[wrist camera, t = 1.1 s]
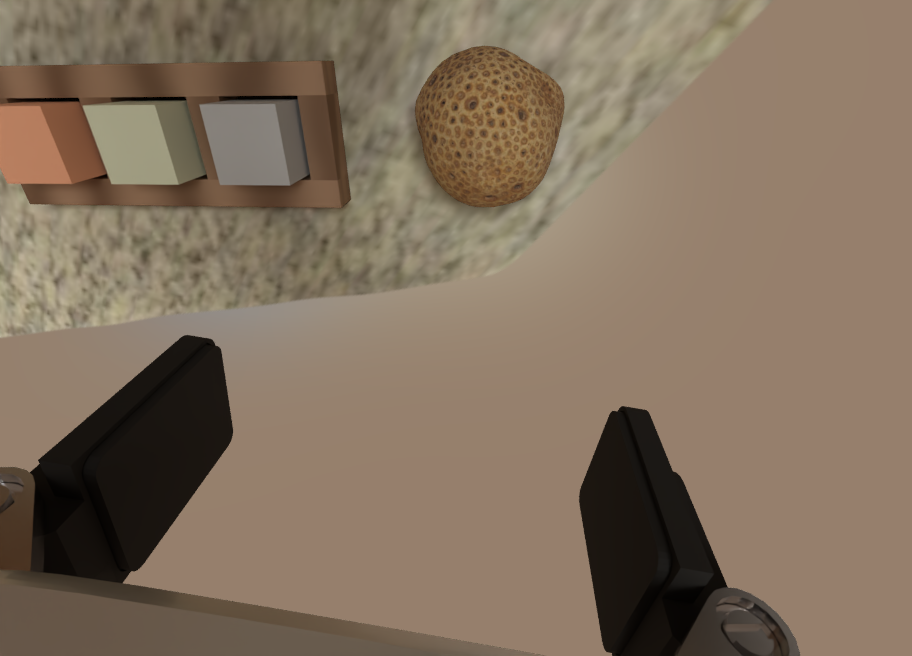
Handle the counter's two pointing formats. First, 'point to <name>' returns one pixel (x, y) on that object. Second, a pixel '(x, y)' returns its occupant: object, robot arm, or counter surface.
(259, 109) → the slate button
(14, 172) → the terracotta button
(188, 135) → the sage button
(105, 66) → the walnut panel
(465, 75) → the natural sponge
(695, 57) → the counter surface
